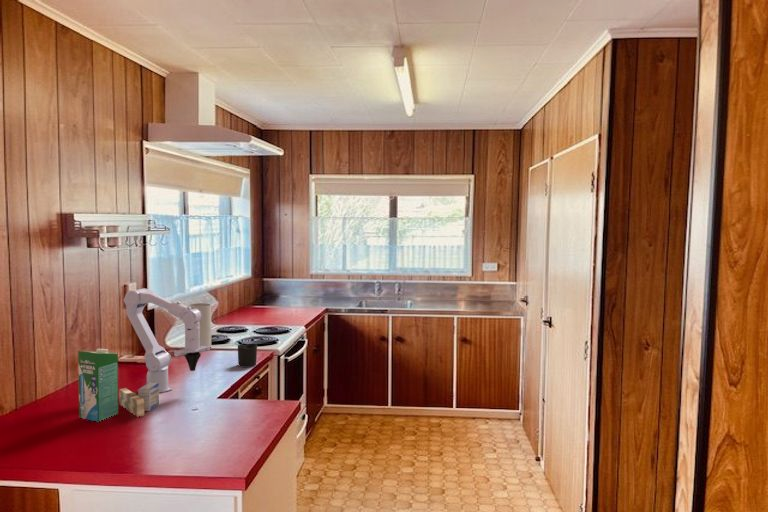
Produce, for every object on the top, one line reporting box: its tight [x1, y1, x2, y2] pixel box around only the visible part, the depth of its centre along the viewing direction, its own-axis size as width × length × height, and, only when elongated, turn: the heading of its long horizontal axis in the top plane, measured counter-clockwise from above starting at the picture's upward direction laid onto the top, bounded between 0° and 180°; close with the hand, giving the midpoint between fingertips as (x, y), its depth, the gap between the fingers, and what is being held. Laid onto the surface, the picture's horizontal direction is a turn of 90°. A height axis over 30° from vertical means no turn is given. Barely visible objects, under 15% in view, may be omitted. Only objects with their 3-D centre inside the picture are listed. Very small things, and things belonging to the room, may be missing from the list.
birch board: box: [118, 387, 145, 418], centre depth 197 cm, size 18×2×6 cm, turn 46°
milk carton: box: [77, 348, 119, 423], centre depth 189 cm, size 9×9×25 cm
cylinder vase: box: [187, 302, 212, 348], centre depth 292 cm, size 12×12×25 cm
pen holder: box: [237, 343, 258, 367], centre depth 262 cm, size 9×9×10 cm
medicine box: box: [137, 383, 160, 412], centre depth 200 cm, size 8×4×9 cm, turn 179°
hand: (192, 370), depth 218 cm, fingers closed
